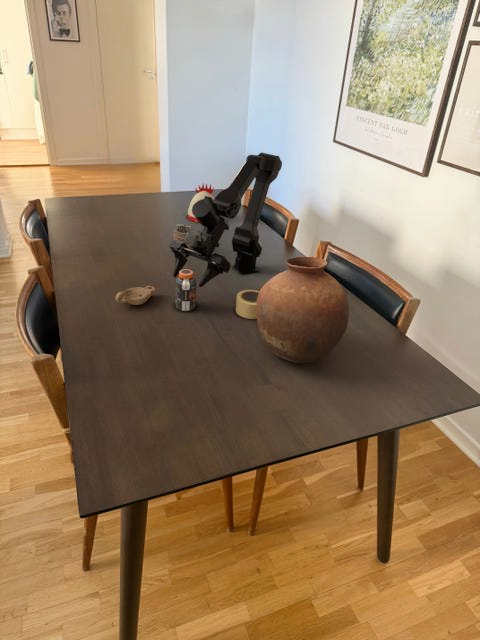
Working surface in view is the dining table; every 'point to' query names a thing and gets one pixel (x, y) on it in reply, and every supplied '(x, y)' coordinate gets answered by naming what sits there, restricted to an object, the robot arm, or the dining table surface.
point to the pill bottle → (185, 290)
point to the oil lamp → (135, 295)
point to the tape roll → (247, 304)
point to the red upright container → (182, 233)
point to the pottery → (302, 311)
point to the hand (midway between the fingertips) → (186, 281)
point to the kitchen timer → (197, 197)
